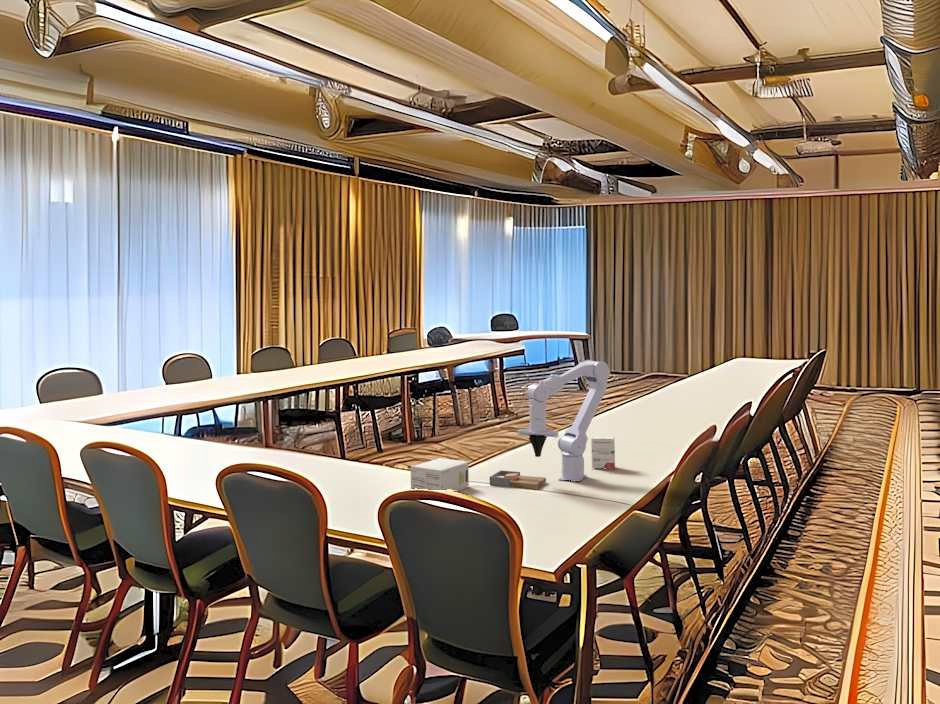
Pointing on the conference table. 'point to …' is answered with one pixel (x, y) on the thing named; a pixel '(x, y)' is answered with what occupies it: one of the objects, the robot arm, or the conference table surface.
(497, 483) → the slate tray
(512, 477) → the terracotta tile
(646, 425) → the conference table surface
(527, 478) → the walnut board
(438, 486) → the supplement box
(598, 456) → the ink box
